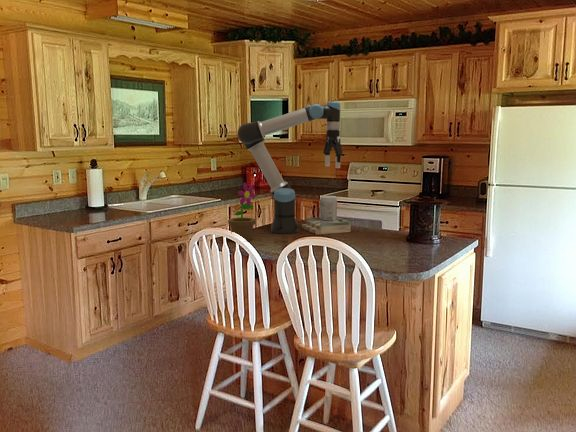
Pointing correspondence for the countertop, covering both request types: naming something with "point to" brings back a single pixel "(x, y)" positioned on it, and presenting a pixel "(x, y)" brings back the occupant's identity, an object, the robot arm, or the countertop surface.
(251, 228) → the flowerpot
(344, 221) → the shallow square tray
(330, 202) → the supplement tub
